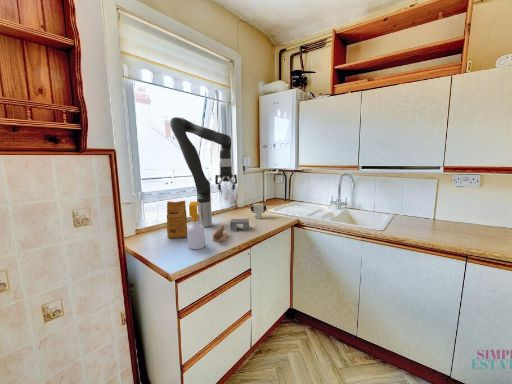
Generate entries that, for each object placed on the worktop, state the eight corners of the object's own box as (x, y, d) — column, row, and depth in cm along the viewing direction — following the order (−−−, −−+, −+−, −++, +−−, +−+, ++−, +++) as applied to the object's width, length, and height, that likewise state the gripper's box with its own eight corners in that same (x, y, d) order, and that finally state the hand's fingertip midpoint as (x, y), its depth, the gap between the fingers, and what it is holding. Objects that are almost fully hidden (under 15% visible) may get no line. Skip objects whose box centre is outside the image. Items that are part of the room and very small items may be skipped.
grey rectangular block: (249, 230, 151) (248, 221, 150) (230, 230, 151) (230, 222, 150) (249, 227, 158) (248, 218, 157) (231, 227, 158) (231, 219, 157)
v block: (225, 240, 134) (224, 233, 133) (212, 240, 134) (212, 234, 133) (226, 236, 141) (226, 230, 140) (214, 236, 141) (214, 230, 140)
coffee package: (170, 233, 149) (167, 199, 145) (189, 232, 149) (187, 199, 146) (165, 239, 139) (162, 203, 135) (186, 238, 140) (183, 202, 136)
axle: (220, 239, 129) (220, 233, 128) (214, 240, 129) (214, 234, 128) (224, 230, 145) (223, 224, 144) (218, 230, 145) (218, 225, 144)
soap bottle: (206, 242, 131) (204, 200, 127) (203, 249, 122) (200, 203, 118) (190, 243, 131) (187, 200, 127) (186, 250, 122) (182, 204, 118)
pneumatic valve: (266, 218, 177) (266, 203, 175) (251, 219, 177) (250, 203, 175) (266, 216, 183) (265, 201, 181) (251, 217, 183) (250, 202, 181)
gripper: (237, 165, 155) (237, 189, 158) (215, 165, 155) (216, 189, 158) (236, 165, 148) (236, 191, 150) (213, 166, 148) (214, 191, 150)
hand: (226, 190), depth 154 cm, fingers open, 8 cm apart
